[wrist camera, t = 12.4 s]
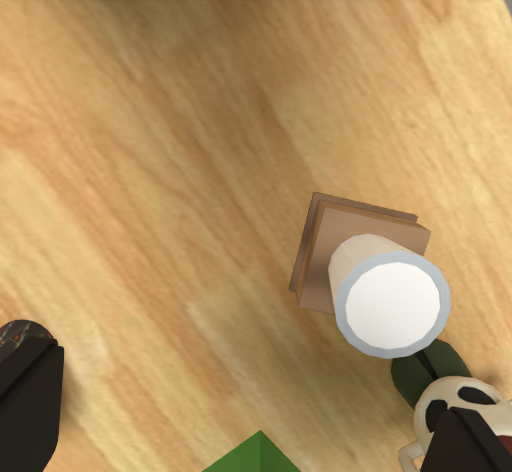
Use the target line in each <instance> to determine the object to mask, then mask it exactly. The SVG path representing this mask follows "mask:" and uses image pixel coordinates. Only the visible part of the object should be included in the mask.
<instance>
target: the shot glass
mask: <svg viewBox="0 0 512 472" xmlns="http://www.w3.org/2000/svg"><path fill="white" fill-rule="evenodd" d="M328 272H329V279H330V285H331V291H332V297H333V303H334V309H335V315H336V321H337V326H338V327H339V329H340V331H341V332H342V334H343V335H344V337H345V338H346V340H347V342H348V343H349V344H351V345H352V346H354V347H355V348H357V349H358V350H360V351H361V352H363V353H364V354H366V355H371V356H375V357H380V358H384V359H390V358H398V357H405V356H410V355H412V354H413V353H415V352H417V351H419V350H421V349H423V348H425V347H427V346H429V345H430V344H431V342H432V341H433V340H434V339H435V338H436V337H437V336H438V335H439V334H440V332H441V331H442V330H443V329H444V327H445V324H446V321H447V318H448V316H449V313H450V310H451V300H450V287H449V285H448V284H447V282H446V280H445V278H444V277H443V275H442V273H441V271H440V269H439V268H437V267H436V266H435V265H433V264H432V263H430V262H429V261H428V260H426V259H425V258H423V257H422V256H420V255H418V254H416V253H414V252H412V251H410V250H409V249H407V248H405V247H403V246H401V245H399V244H397V243H395V242H393V241H391V240H389V239H387V238H385V237H382V236H377V235H373V234H363V235H357V236H353V237H351V238H350V239H348V240H346V241H345V242H343V243H341V244H340V245H339V247H338V248H337V249H336V251H335V252H334V253H333V254H332V257H331V260H330V264H329V267H328Z"/></svg>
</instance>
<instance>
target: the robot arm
mask: <svg viewBox="0 0 512 472" xmlns="http://www.w3.org/2000/svg"><path fill="white" fill-rule="evenodd" d="M63 364H64V348H63V347H62V346H58V342H57V340H56V339H52V338H46V337H41V336H35V335H31V336H29V337H28V338H27V339H26V340H25V341H23V342H22V343H21V344H20V345H19V346H18V347H17V348H16V349H15V350H14V351H13V352H12V353H11V354H10V355H9V356H8V357H6V358H5V359H4V360H3V361H2V362H1V363H0V472H43V470H44V468H45V467H46V465H47V464H48V462H49V460H50V459H51V457H52V455H53V453H54V451H55V449H56V446H57V442H58V435H59V420H60V406H61V392H62V378H63ZM420 472H512V456H511V454H510V453H509V452H508V450H507V449H506V448H505V446H504V445H503V444H502V442H501V441H500V440H499V438H498V437H497V436H496V434H495V433H494V432H493V430H492V429H491V428H490V426H489V425H488V424H487V422H486V421H485V420H484V418H483V417H482V416H481V414H480V413H479V412H478V411H476V410H473V409H467V408H461V407H455V406H452V407H450V408H449V409H448V410H447V411H443V412H442V413H441V415H440V417H439V420H438V423H437V426H436V428H435V431H434V434H433V436H432V439H431V442H430V445H429V447H428V450H427V453H426V456H425V458H424V461H423V464H422V467H421V469H420Z"/></svg>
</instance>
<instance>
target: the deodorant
mask: <svg viewBox="0 0 512 472" xmlns="http://www.w3.org/2000/svg"><path fill="white" fill-rule="evenodd" d="M31 335H35V336H41V337H46V338H52V339H54V338H53V336H52V335H51V334H50V333H49V331H48V330H47V329H45V328H44V327H43V326H41V325H40V324H37V323H35V322H33V321H28V320H15V321H11V322H8V323H7V324H5V325H4V326H2V327H1V328H0V363H1V362H2V361H3V360H4V359H5V358H6V357H8V356H9V355H10V354H11V353H12V352H13V351H14V350H15V349H16V348H17V347H18V346H19V345H20V344H21V343H22V342H23V341H25V340H26V339H27V338H28V337H29V336H31Z"/></svg>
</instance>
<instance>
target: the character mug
mask: <svg viewBox="0 0 512 472" xmlns="http://www.w3.org/2000/svg"><path fill="white" fill-rule="evenodd" d="M391 372H392V376H393V379H394V383H395V386H396V387H397V389H398V390H399V392H400V393H401V395H402V396H403V397H404V398H405V400H406V401H407V402H408V403H409V405H410V406H411V407H412V408H413V410H414V411H415V414H414V420H413V425H414V429H415V433H416V437H417V440H418V441H416V442H413V443H411V444H409V445H407V446H404V447H402V448H401V449H400V450H399V451H398V460H399V462H400V465H401V467H402V470H403V472H420V469H419V470H417V468H416V466H415V464H414V462H413V460H414V459H416V458H418V457H420V456H423V455H425V456H426V453H427V450H428V447H429V445H430V442H431V439H432V436H433V434H434V431H435V428H436V426H437V423H438V420H439V417H440V415H441V413H442V412H443V411H447V410H448V409H449V408H450V407H452V406H455V407H461V408H467V409H473V410H476V411H478V412H479V413H480V414H481V416H482V417H483V418H484V420H485V421H486V422H487V424H488V425H489V426H490V428H491V429H492V430H493V432H494V433H495V434H496V436H497V437H498V438H499V440H500V441H501V442H502V444H503V445H504V446H505V448H506V449H507V450H508V452H509V453H510V454H511V456H512V399H511V400H509V401H507V400H506V399H505V398H504V397H503V396H502V395H501V394H500V393H499V392H498V391H497V389H496V388H495V387H493V386H491V385H489V384H487V383H485V382H483V381H481V380H479V379H477V378H473V377H472V375H471V373H470V372H469V370H468V368H467V366H466V365H465V363H464V362H463V360H462V359H461V357H460V356H459V355H458V353H457V352H456V351H455V350H454V349H453V348H452V347H451V346H450V344H448V343H446V342H443V341H441V340H438V339H436V338H435V339H434V340H433V341H432V342H431V344H430V345H429V346H427V347H425V348H423V349H421V350H419V351H417V352H415V353H413V354H412V355H410V356H405V357H398V358H394V362H393V366H392V370H391Z"/></svg>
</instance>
